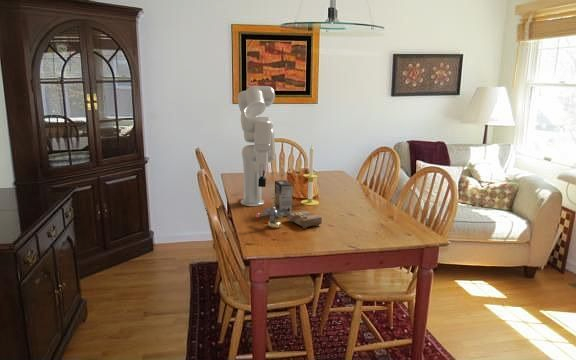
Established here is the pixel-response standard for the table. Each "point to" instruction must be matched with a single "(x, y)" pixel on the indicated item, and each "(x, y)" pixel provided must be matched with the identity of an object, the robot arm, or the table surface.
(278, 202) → the coffee box
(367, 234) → the table surface
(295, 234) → the table surface
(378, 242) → the table surface
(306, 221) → the brown switch box
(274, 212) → the capstan
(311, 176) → the candle
